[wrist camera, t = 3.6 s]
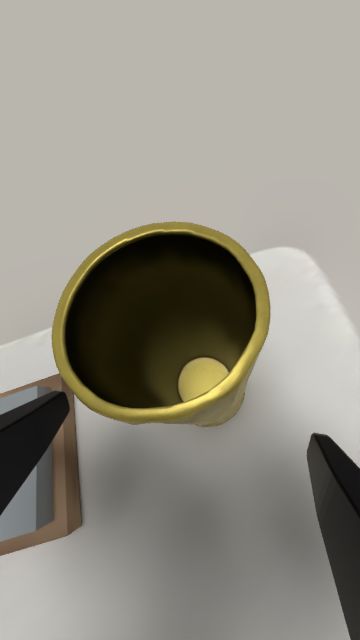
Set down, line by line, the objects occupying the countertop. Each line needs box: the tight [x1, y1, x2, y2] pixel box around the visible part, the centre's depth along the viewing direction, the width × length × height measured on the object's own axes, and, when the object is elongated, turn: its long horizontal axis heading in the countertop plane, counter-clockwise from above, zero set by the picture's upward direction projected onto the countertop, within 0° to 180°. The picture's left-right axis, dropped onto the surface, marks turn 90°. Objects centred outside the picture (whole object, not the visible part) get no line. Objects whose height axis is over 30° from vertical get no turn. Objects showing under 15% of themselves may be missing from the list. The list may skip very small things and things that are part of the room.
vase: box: [52, 222, 270, 427], centre depth 12 cm, size 6×6×14 cm
